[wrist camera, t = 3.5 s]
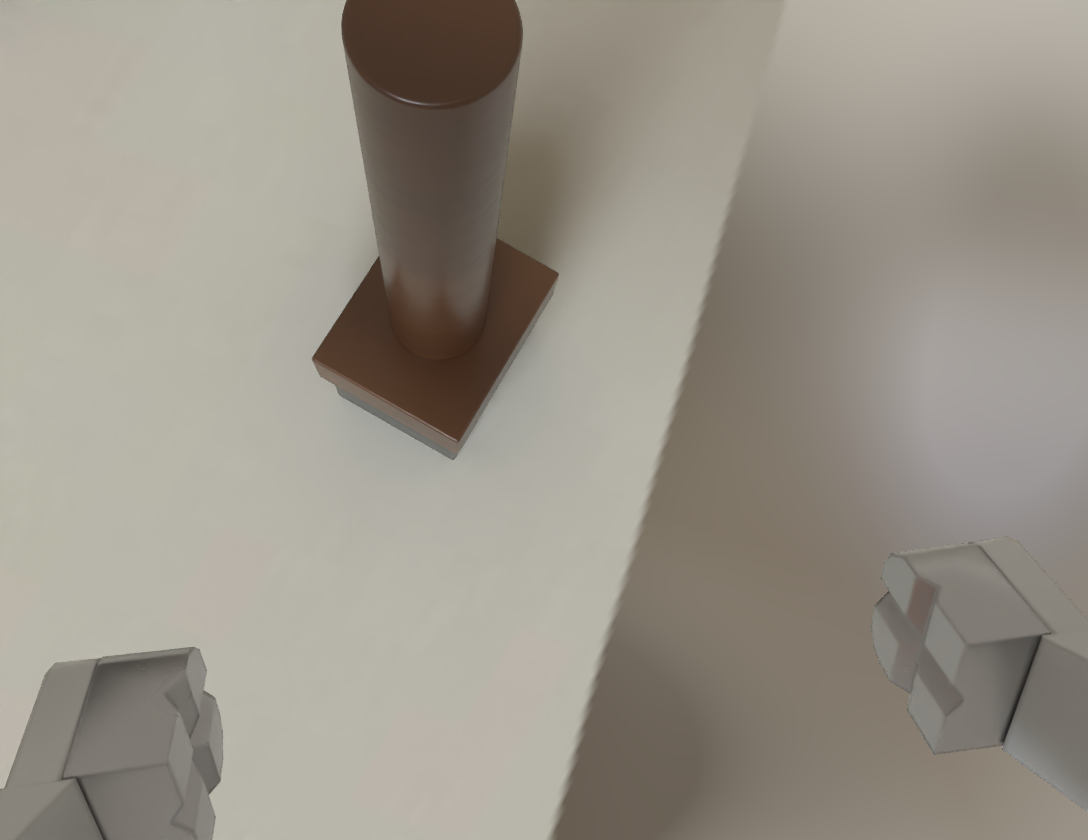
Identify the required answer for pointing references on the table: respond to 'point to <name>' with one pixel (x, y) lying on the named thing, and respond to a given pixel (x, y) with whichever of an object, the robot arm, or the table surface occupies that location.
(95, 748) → the robot arm
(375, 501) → the table surface
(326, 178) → the table surface
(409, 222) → the dish brush
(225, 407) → the table surface
